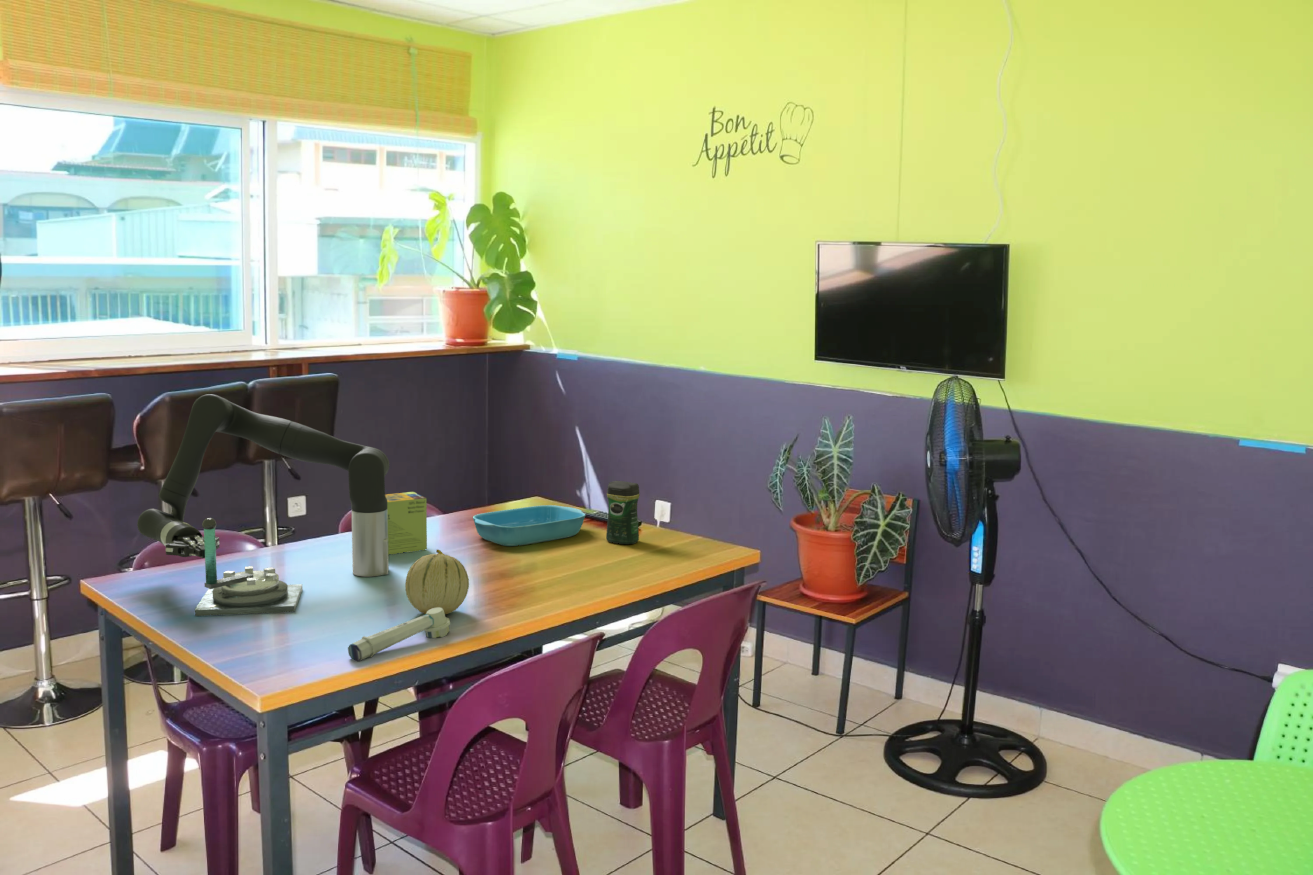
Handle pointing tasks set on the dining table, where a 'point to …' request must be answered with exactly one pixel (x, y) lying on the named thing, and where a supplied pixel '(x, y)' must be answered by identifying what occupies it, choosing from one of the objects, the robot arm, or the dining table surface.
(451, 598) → the cantaloupe
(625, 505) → the coffee jar
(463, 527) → the dining table surface
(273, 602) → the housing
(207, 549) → the crank handle wheel
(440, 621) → the beige piece
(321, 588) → the dining table surface
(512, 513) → the casserole dish
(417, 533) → the protein box
